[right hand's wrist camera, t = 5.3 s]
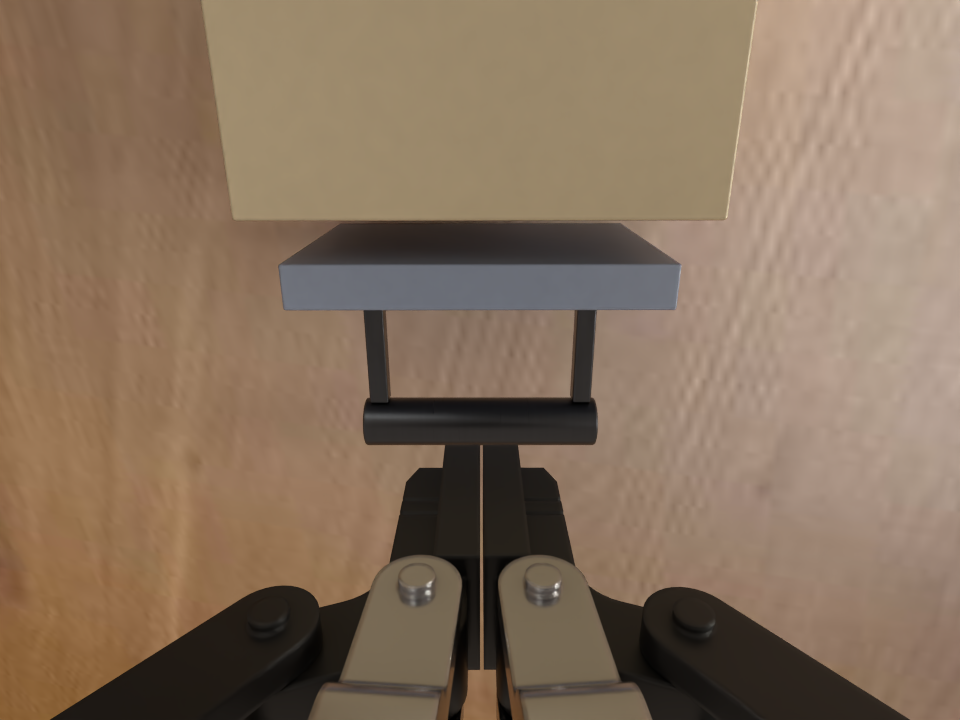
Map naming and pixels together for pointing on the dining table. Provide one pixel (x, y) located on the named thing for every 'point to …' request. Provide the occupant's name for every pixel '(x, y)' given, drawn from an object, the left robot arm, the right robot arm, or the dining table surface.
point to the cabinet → (479, 108)
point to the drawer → (480, 286)
